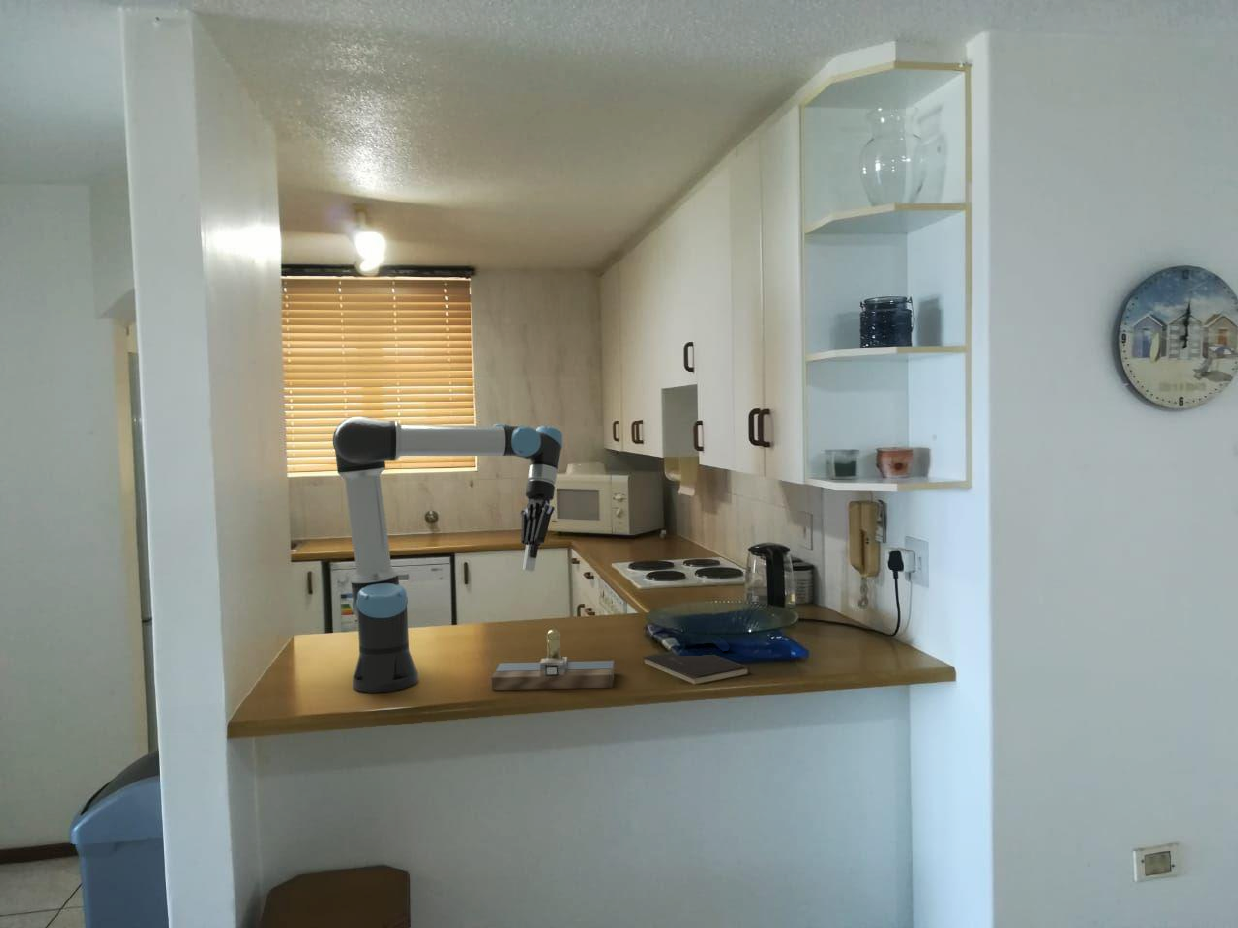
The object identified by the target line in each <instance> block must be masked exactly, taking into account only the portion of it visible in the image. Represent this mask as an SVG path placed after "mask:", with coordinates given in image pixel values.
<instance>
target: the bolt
mask: <svg viewBox="0 0 1238 928" xmlns="http://www.w3.org/2000/svg"><path fill="white" fill-rule="evenodd" d="M560 639H561V634H560V632H559V631H558V630H556V629H555V628H554V629H550V630H548V631H547V633H546V643H547V644H546V646H547V647H546V648H547V649H546V650H547V658H548V659H560V658H561V643H560V642H561V641H560ZM557 673H558V665H547V674H557Z"/></svg>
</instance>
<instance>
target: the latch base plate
mask: <svg viewBox="0 0 1238 928" xmlns="http://www.w3.org/2000/svg"><path fill="white" fill-rule="evenodd" d="M562 658H565V670H584V669H613V681H614V678H615V661H614V660H604V661H603V660H602V661H601V660H598V661H597V660H596V661H568V657H567V656H563V657H562ZM545 659H548V657H546V658H545ZM539 670H540V662H518V663H517V662H514V663H512V662H511V663H510V662H509V663H499V665H498V666H497V668H496V669H495V671H539Z"/></svg>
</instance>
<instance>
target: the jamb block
mask: <svg viewBox="0 0 1238 928" xmlns="http://www.w3.org/2000/svg"><path fill="white" fill-rule="evenodd" d="M539 663H540V670H539V671H496V670H495V672H494V673H493V674H492V676H491V690H492V691H511V690H512V691H513V690H515V691H516V690H518V691H519V690H562V689H565V690H567V689H608V688H613V685H614V680H613V669H584V670H565V658H563V657H560V659H546V658H541V659H540V662H539ZM547 665H558V673H557V674H547Z"/></svg>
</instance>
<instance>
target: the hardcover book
mask: <svg viewBox="0 0 1238 928" xmlns="http://www.w3.org/2000/svg"><path fill="white" fill-rule="evenodd" d="M673 651H674V650H673ZM673 651H668V652H662V653H661V652H660V653H655V654H651V655H646V656H645V655H644V656H643V657H642V659H644V663H645V664H646V665H648V666H651V667H652V668H656V669H658V670H660V671H662V672H665V673H667V674H669V675H671V676H674V677H677V678H679V679H680V680H683V681H686V682H688V683H690V684H693V685H698V684H703V683H708V682H713V681H718V680H724V679H728V678H732V677H738V676H742V675H749V674H750V670H749V667H748V666H746V665H743V664H741V663H737V662H734V661H732V660H729V659H727V658H724V657H720V656H717V655H715V654H713V655H703V656H678V655H676V654H675V653H674V652H673Z"/></svg>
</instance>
